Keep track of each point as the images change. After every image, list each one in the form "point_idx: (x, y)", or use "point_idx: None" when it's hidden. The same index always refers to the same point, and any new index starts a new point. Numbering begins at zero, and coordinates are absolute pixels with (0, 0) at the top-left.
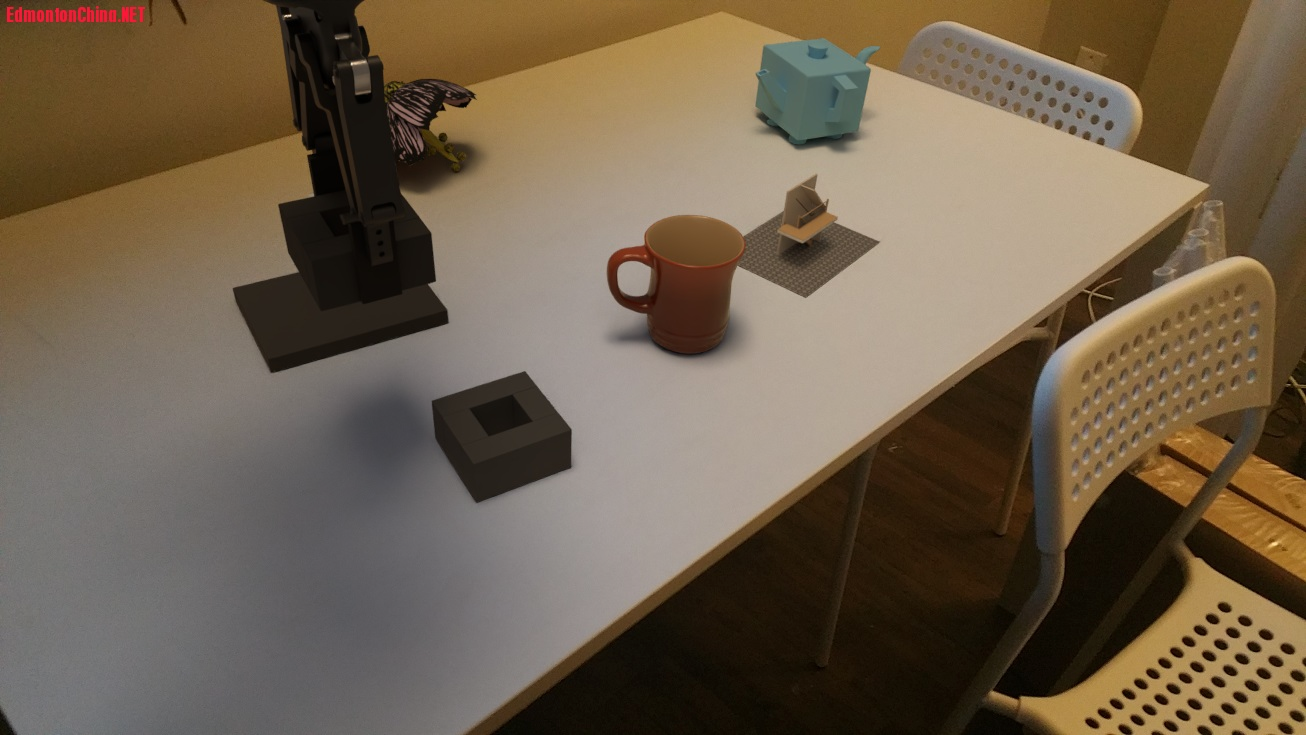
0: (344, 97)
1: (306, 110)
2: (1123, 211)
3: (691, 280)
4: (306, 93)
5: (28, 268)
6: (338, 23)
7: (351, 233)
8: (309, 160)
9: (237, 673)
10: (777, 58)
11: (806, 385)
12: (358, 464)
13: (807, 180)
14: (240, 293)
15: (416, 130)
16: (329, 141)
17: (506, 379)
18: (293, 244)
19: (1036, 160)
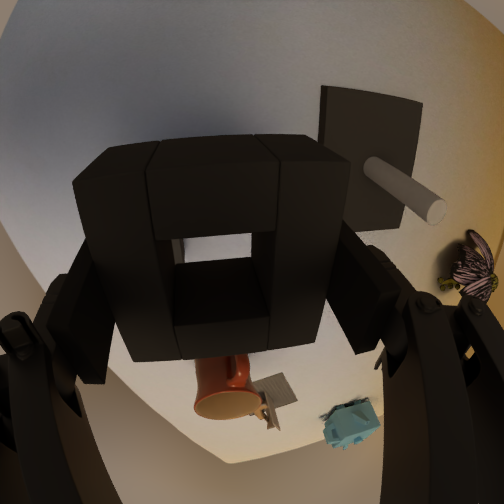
0: None
1: (428, 427)
2: (226, 454)
3: (199, 391)
4: (426, 499)
5: (484, 24)
6: None
7: (62, 295)
8: (384, 287)
9: (26, 31)
10: (369, 428)
11: (155, 372)
12: (170, 116)
13: (277, 428)
14: (414, 104)
15: (465, 283)
16: (393, 344)
17: (178, 257)
18: (245, 147)
19: (270, 448)
